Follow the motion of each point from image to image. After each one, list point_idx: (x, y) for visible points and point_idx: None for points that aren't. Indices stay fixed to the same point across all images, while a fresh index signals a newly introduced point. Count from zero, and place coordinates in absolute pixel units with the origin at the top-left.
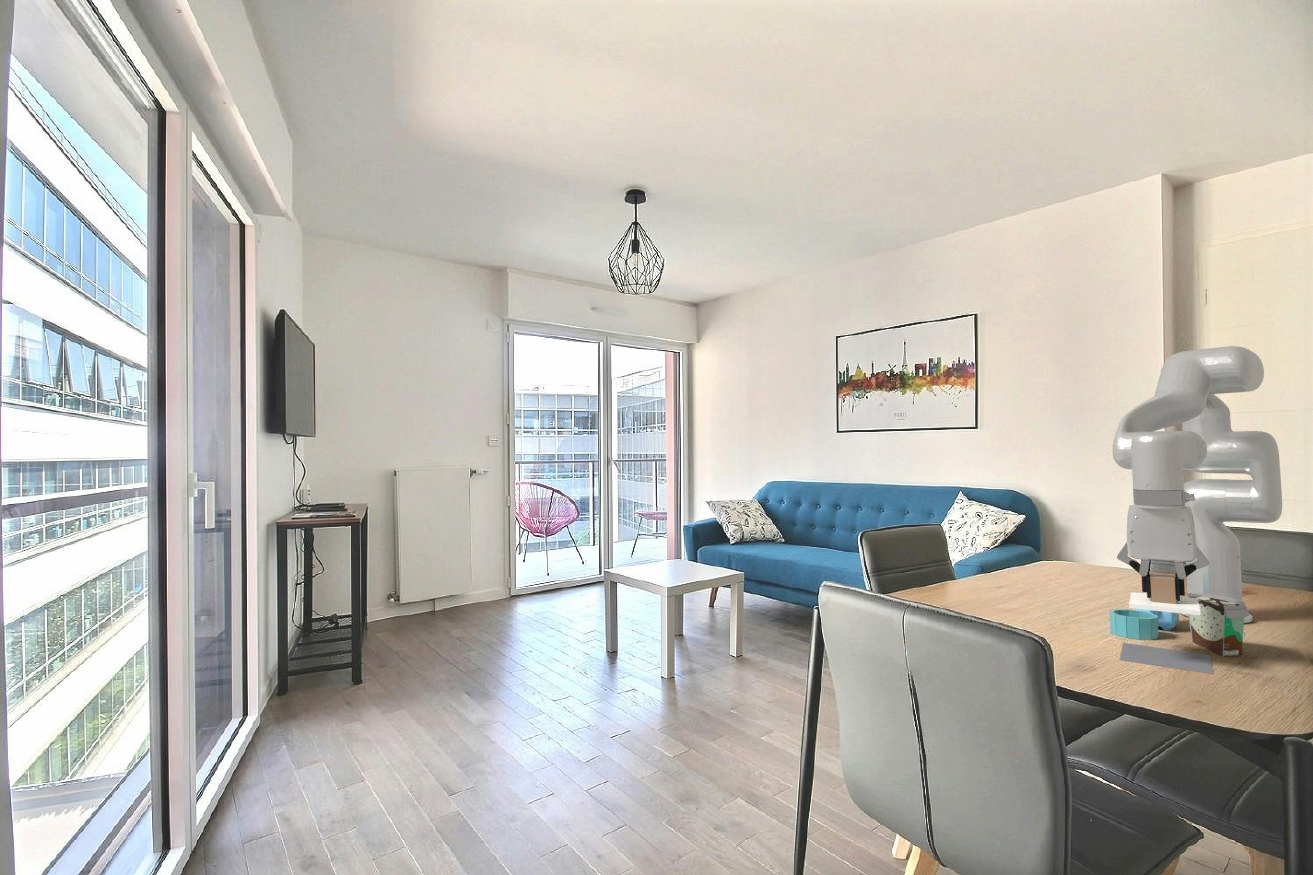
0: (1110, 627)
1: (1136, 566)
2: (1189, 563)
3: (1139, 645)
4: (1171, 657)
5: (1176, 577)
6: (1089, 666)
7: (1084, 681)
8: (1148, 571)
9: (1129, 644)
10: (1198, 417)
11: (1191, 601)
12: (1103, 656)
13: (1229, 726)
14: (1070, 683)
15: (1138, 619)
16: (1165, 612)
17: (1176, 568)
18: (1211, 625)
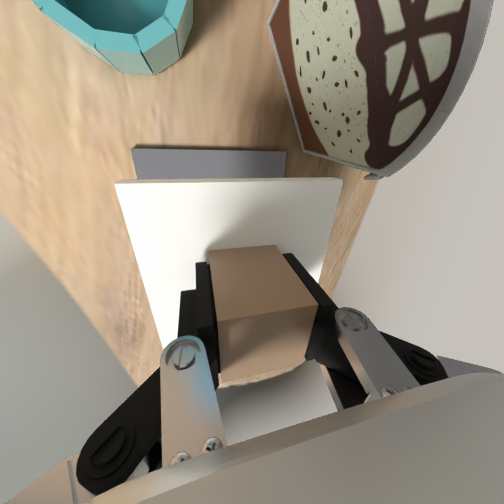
0: None
1: (155, 443)
2: (428, 381)
3: (167, 154)
4: None
5: (314, 351)
6: (133, 323)
7: (150, 370)
8: (213, 374)
9: (147, 158)
10: None
11: (312, 240)
12: (129, 262)
13: (266, 378)
14: (140, 383)
15: (140, 53)
16: None
17: (338, 407)
18: (328, 107)
